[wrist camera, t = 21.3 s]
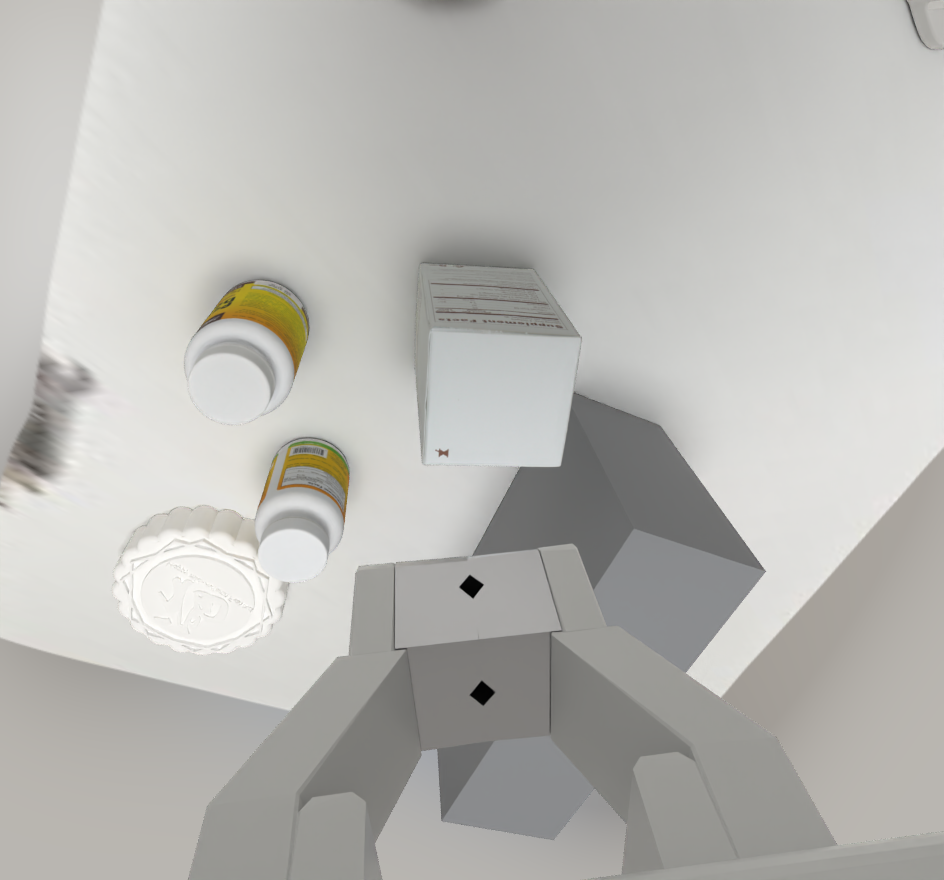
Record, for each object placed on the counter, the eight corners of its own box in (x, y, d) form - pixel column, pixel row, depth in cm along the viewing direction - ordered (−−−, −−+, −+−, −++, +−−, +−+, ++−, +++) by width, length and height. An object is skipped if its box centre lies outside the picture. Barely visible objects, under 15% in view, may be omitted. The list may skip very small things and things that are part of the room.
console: (660, 425, 48) (765, 571, 35) (516, 654, 58) (553, 840, 44) (562, 388, 46) (633, 528, 32) (430, 633, 56) (441, 821, 42)
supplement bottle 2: (306, 513, 49) (287, 607, 41) (255, 463, 47) (224, 551, 38) (365, 475, 48) (359, 563, 40) (316, 422, 46) (297, 503, 37)
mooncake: (93, 577, 50) (73, 610, 47) (185, 473, 47) (169, 502, 44) (231, 649, 55) (220, 684, 52) (323, 560, 52) (318, 592, 49)
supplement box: (522, 374, 46) (562, 473, 35) (412, 369, 45) (417, 469, 34) (537, 265, 42) (587, 337, 31) (418, 257, 41) (426, 327, 30)
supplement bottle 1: (242, 259, 40) (198, 314, 31) (326, 307, 42) (307, 373, 33) (203, 334, 42) (151, 407, 33) (285, 377, 44) (256, 457, 35)
